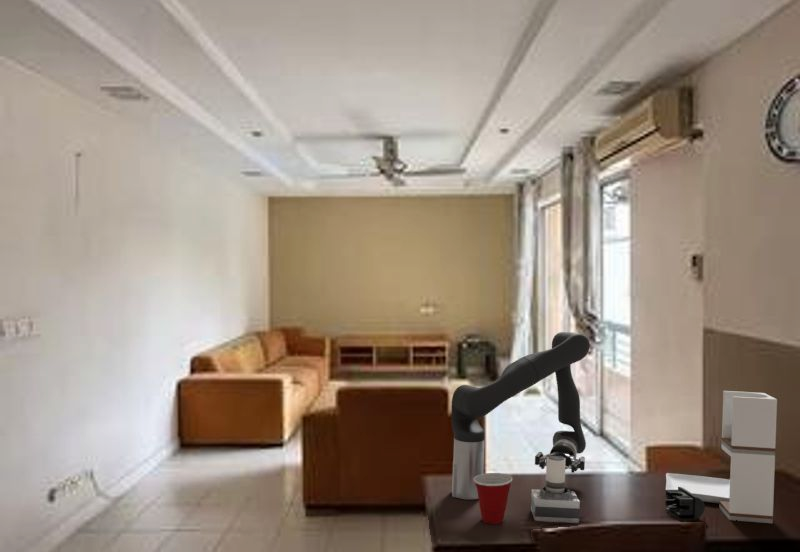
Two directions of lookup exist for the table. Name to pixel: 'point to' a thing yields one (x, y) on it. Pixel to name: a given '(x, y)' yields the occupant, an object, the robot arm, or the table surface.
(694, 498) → the end cap
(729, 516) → the white shelf tower
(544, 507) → the banded square pedestal
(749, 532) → the table surface
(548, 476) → the lens barrel
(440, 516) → the table surface
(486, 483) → the plastic cup
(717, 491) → the salad plate
